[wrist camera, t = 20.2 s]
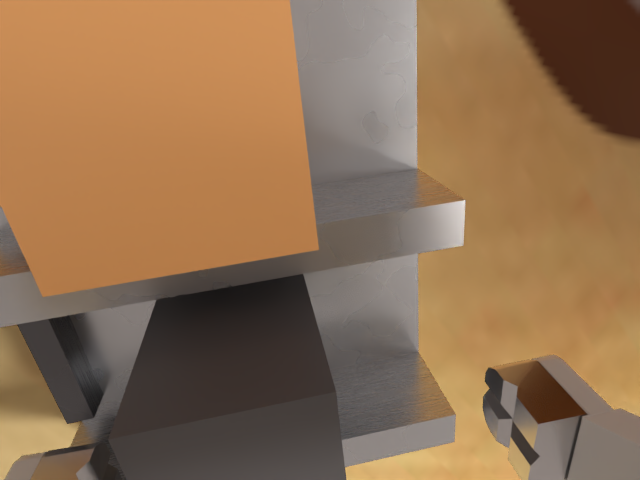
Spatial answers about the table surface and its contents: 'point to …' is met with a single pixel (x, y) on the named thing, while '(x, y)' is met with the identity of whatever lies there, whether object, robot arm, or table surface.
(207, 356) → the dark gray block
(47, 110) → the orange block
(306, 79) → the gray divided tray
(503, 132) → the table surface
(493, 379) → the robot arm
